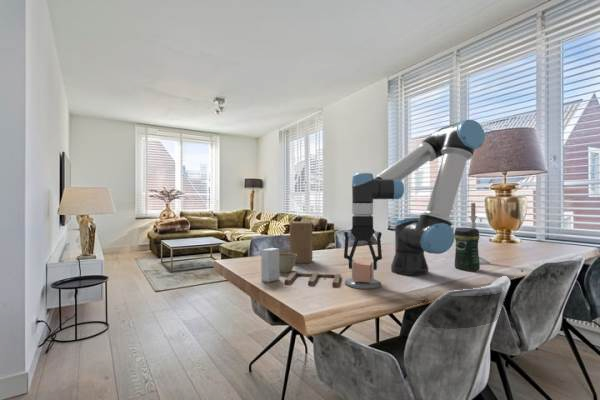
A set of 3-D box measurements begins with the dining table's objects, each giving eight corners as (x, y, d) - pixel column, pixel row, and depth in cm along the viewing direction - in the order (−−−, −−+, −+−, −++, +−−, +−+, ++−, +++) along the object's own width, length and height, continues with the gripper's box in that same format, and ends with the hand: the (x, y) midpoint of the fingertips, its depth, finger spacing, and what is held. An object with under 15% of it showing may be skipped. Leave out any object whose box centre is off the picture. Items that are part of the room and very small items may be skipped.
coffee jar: (483, 270, 133) (483, 228, 133) (470, 272, 129) (470, 228, 130) (463, 266, 142) (463, 226, 142) (451, 267, 138) (451, 227, 138)
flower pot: (269, 272, 130) (269, 255, 130) (280, 267, 139) (280, 252, 139) (291, 274, 126) (291, 257, 126) (300, 269, 135) (300, 253, 135)
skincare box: (271, 277, 121) (271, 247, 121) (280, 279, 118) (280, 248, 118) (260, 280, 116) (260, 249, 116) (268, 282, 113) (268, 250, 113)
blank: (372, 275, 116) (372, 259, 116) (370, 282, 107) (370, 265, 107) (356, 274, 118) (356, 259, 118) (353, 280, 109) (353, 264, 109)
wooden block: (309, 264, 146) (309, 222, 147) (289, 263, 148) (289, 222, 149) (312, 260, 156) (312, 221, 156) (293, 259, 158) (293, 221, 158)
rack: (340, 277, 121) (340, 273, 121) (338, 287, 107) (338, 282, 107) (292, 275, 125) (292, 271, 125) (284, 284, 111) (284, 280, 111)
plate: (379, 280, 116) (379, 278, 116) (382, 290, 104) (382, 287, 104) (345, 278, 119) (345, 276, 119) (343, 288, 106) (343, 285, 106)
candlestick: (494, 264, 146) (493, 202, 146) (467, 264, 146) (467, 202, 146) (478, 259, 159) (478, 202, 159) (454, 259, 159) (454, 202, 159)
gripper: (388, 215, 113) (388, 276, 113) (337, 214, 117) (337, 274, 117) (390, 216, 106) (390, 282, 106) (335, 215, 109) (335, 279, 109)
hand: (362, 278), depth 111 cm, fingers closed on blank, 6 cm apart
